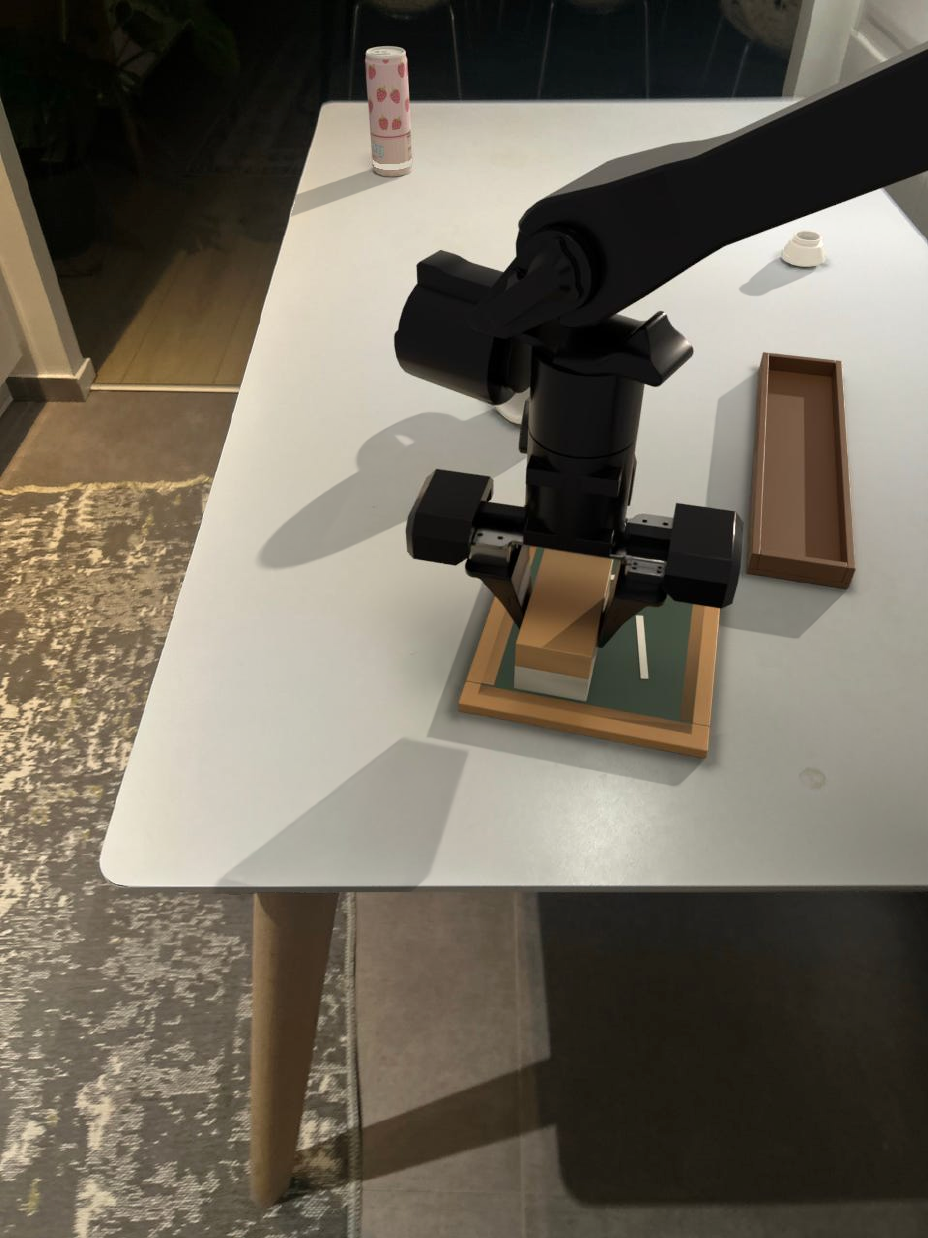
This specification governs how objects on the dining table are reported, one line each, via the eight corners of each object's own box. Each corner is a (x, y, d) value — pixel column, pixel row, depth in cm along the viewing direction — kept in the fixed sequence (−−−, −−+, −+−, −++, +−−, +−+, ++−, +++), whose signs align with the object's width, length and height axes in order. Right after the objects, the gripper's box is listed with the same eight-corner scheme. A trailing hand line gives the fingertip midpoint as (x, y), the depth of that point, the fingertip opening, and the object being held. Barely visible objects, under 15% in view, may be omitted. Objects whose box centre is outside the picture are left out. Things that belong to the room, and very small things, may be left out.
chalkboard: (723, 556, 71) (725, 547, 71) (705, 758, 57) (708, 750, 57) (521, 525, 74) (521, 516, 74) (457, 711, 60) (457, 702, 60)
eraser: (541, 592, 63) (545, 547, 60) (607, 603, 62) (613, 558, 59) (513, 688, 57) (515, 643, 54) (585, 701, 56) (591, 657, 53)
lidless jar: (829, 257, 110) (788, 248, 112) (836, 232, 108) (794, 223, 110) (815, 272, 107) (773, 263, 109) (821, 247, 105) (779, 237, 107)
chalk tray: (836, 379, 90) (842, 360, 89) (848, 589, 68) (856, 568, 67) (758, 370, 91) (762, 351, 90) (746, 573, 70) (752, 553, 68)
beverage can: (366, 167, 133) (357, 48, 123) (402, 160, 135) (395, 43, 125) (383, 179, 130) (374, 58, 119) (419, 172, 132) (414, 52, 121)
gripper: (769, 372, 52) (719, 578, 63) (450, 336, 55) (455, 537, 66) (764, 487, 44) (708, 698, 55) (394, 436, 48) (410, 645, 59)
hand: (563, 636), depth 59 cm, fingers closed on eraser, 4 cm apart
